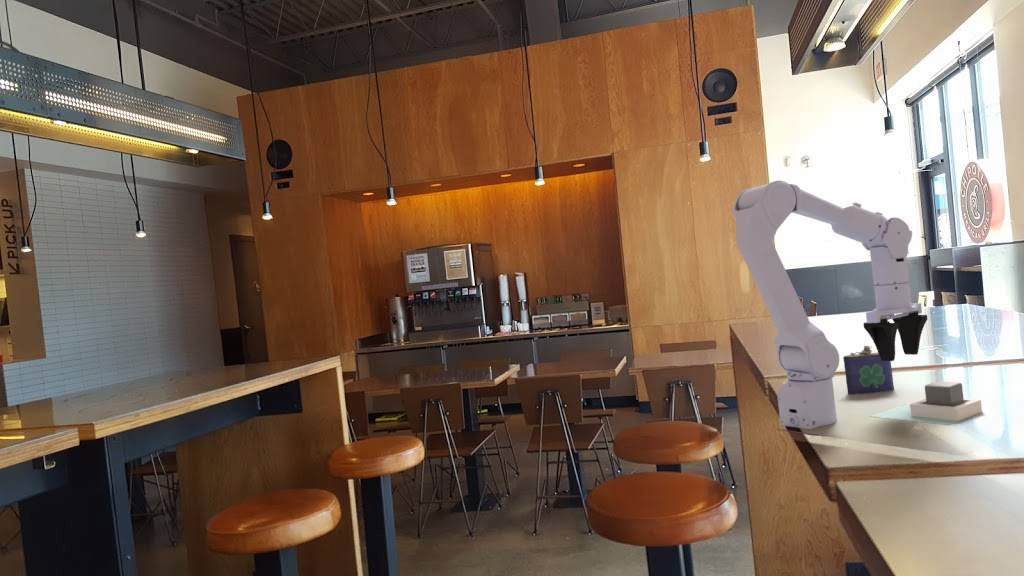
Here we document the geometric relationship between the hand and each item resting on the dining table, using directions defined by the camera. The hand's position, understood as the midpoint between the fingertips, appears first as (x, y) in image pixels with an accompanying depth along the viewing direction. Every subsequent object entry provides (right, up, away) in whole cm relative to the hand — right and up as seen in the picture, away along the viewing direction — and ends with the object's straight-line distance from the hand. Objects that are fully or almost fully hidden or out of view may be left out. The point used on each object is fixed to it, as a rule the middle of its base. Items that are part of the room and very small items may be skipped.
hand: (899, 357), depth 127 cm
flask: (+3, -10, +15) cm, 18 cm away
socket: (+2, -9, -10) cm, 13 cm away
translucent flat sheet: (0, -10, -8) cm, 13 cm away
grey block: (+2, -8, -10) cm, 13 cm away
